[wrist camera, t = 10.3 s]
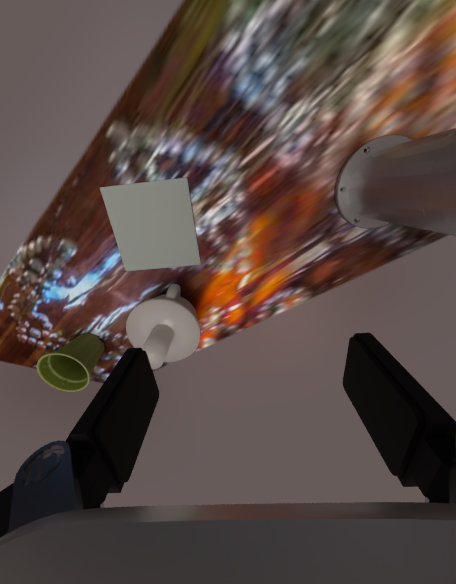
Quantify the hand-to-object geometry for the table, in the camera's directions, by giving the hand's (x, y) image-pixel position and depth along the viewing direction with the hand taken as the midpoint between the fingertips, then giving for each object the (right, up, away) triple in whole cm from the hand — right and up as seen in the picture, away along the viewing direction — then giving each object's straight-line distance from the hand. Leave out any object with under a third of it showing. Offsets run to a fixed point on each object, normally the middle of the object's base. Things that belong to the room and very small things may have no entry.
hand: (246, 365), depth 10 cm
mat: (-13, +14, +27) cm, 34 cm away
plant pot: (-31, -8, +38) cm, 50 cm away
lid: (-11, -3, +26) cm, 29 cm away
